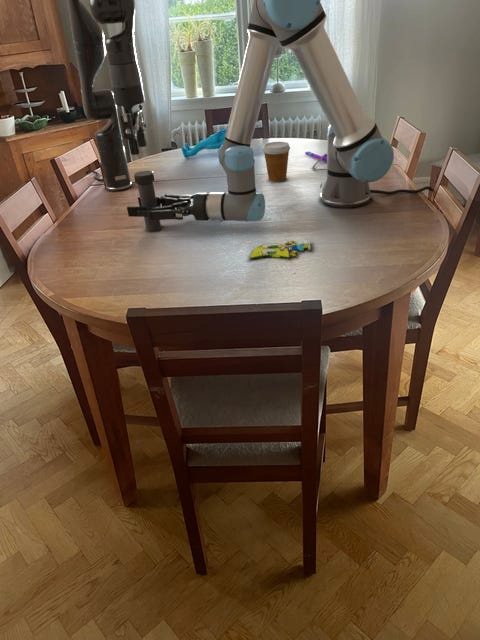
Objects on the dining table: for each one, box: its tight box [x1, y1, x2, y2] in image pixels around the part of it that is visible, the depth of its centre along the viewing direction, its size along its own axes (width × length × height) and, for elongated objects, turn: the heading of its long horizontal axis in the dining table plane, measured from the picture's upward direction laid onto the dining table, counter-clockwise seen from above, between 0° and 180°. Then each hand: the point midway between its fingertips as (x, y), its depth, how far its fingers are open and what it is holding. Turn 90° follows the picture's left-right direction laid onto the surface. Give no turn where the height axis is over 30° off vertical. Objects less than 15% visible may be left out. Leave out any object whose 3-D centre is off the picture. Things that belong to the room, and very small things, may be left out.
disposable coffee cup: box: [262, 141, 291, 183], centre depth 169 cm, size 10×10×12 cm
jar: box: [137, 181, 162, 233], centre depth 137 cm, size 4×4×16 cm
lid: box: [133, 170, 155, 185], centre depth 133 cm, size 5×5×2 cm
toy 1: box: [180, 128, 227, 159], centre depth 204 cm, size 17×11×30 cm
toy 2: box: [249, 240, 312, 260], centre depth 122 cm, size 10×1×15 cm
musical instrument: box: [304, 151, 327, 171], centre depth 185 cm, size 24×2×20 cm
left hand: (139, 150), depth 129 cm, fingers open, 7 cm apart
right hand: (133, 206), depth 139 cm, fingers open, 7 cm apart
